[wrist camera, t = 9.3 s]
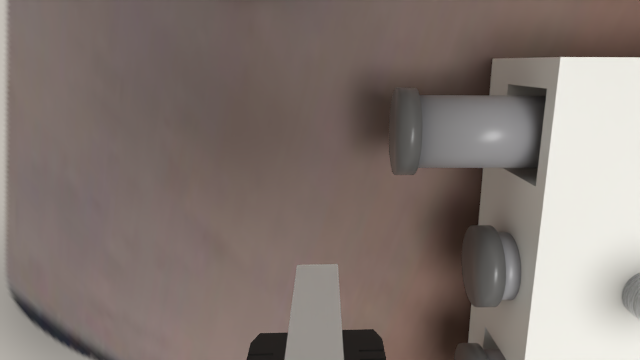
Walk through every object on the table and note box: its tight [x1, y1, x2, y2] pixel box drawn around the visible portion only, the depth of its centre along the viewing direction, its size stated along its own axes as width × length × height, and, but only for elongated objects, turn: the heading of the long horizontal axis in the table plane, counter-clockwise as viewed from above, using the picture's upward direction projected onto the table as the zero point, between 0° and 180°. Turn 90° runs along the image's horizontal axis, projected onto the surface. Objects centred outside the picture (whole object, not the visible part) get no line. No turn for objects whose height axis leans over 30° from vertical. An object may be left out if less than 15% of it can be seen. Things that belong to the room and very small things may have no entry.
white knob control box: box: [462, 57, 640, 360], centre depth 30 cm, size 24×14×9 cm, turn 0°
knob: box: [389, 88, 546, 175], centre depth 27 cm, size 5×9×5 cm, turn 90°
